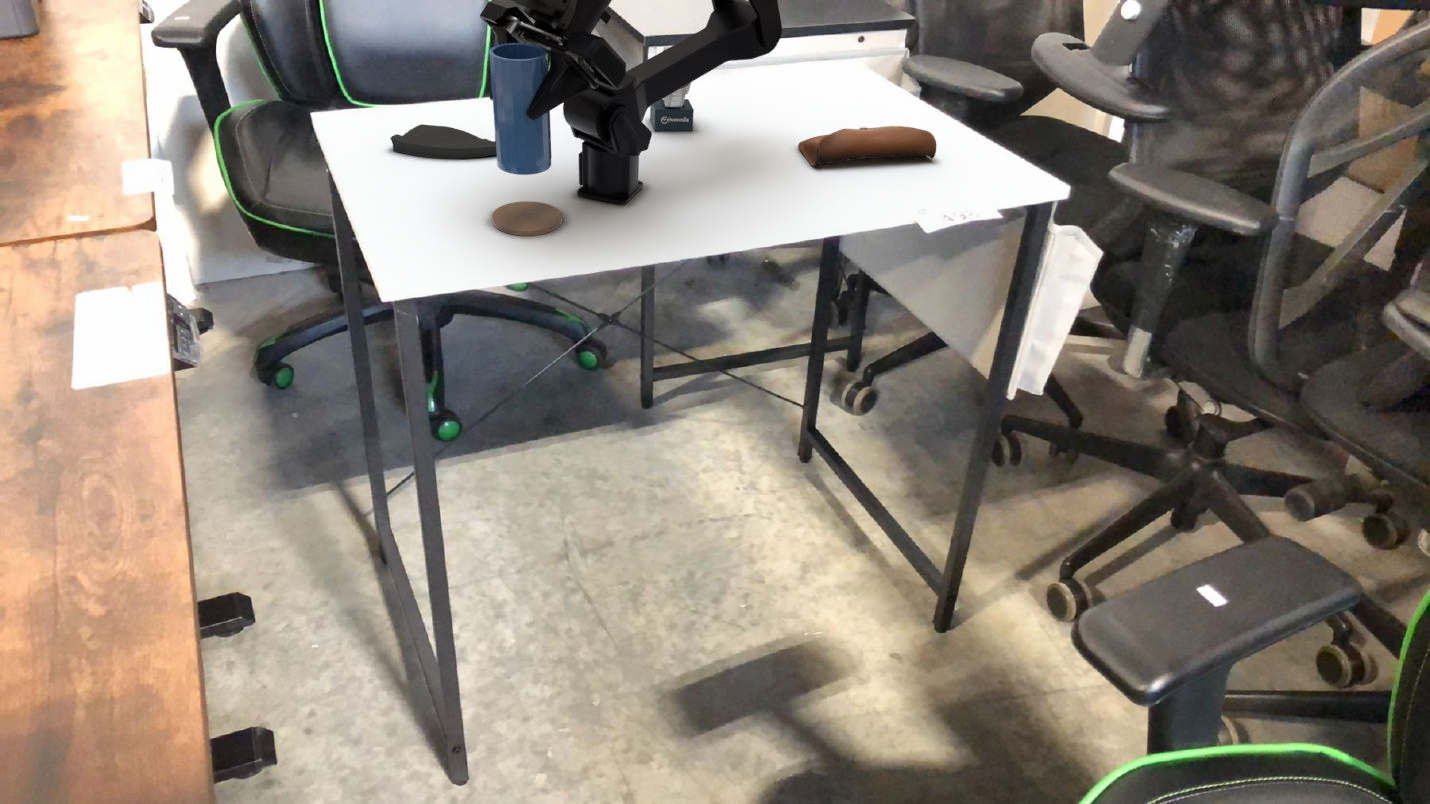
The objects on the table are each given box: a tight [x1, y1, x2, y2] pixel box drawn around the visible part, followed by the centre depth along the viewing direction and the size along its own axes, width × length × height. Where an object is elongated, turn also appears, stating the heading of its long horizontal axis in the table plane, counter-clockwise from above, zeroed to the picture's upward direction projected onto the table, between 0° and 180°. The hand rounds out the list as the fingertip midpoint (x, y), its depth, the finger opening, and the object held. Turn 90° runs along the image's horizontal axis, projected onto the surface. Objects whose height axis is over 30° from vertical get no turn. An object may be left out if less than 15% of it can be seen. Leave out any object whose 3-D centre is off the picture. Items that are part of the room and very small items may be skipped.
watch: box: [649, 46, 695, 132], centre depth 140 cm, size 6×8×11 cm
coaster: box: [491, 200, 563, 237], centre depth 115 cm, size 8×8×1 cm
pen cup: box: [488, 43, 552, 176], centre depth 108 cm, size 6×6×12 cm
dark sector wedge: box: [389, 123, 496, 159], centre depth 131 cm, size 8×14×2 cm, turn 74°
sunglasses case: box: [797, 125, 937, 167], centre depth 138 cm, size 18×7×7 cm
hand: (510, 109), depth 107 cm, fingers closed on pen cup, 6 cm apart
